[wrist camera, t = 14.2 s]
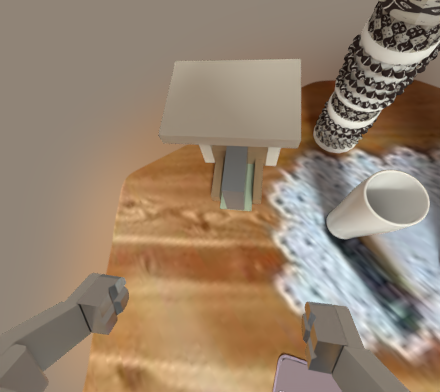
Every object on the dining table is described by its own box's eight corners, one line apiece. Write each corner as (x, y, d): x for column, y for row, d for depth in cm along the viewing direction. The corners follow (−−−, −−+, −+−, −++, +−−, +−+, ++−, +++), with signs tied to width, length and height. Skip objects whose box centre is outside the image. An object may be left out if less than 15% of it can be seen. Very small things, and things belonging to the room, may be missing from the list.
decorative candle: (353, 161, 42) (489, 20, 18) (304, 145, 44) (371, 1, 20) (366, 123, 44) (502, -47, 21) (319, 110, 46) (394, -57, 23)
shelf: (273, 213, 40) (300, 154, 20) (199, 207, 42) (155, 148, 22) (276, 156, 44) (300, 58, 24) (206, 153, 46) (175, 61, 26)
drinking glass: (320, 204, 40) (360, 167, 26) (360, 206, 39) (425, 169, 25) (321, 242, 38) (366, 224, 24) (364, 245, 37) (437, 229, 23)
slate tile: (244, 210, 41) (243, 192, 31) (227, 208, 41) (221, 190, 32) (248, 166, 44) (248, 137, 34) (231, 165, 44) (227, 136, 35)
